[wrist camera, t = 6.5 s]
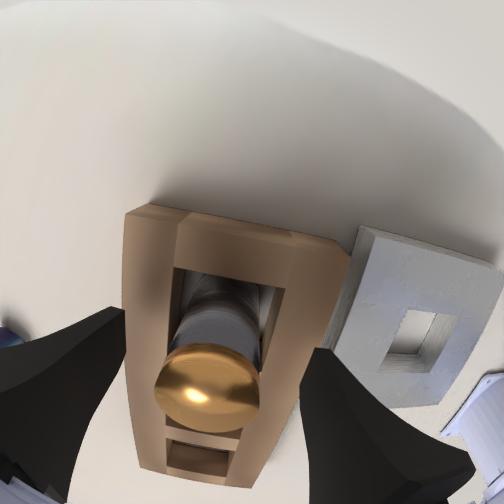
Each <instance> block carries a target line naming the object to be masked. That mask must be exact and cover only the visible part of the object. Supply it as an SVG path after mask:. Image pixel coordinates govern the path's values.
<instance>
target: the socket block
mask: <svg viewBox="0 0 504 504" xmlns="http://www.w3.org/2000/svg"><path fill="white" fill-rule="evenodd" d="M503 286H504V271H503V270H501V269H499V268H498V267H496V266H494V265H493V264H491V263H489V262H487V261H484V260H481V259H478V258H475V257H471V256H468V255H465V254H462V253H459V252H455V251H452V250H449V249H446V248H442V247H439V246H436V245H432V244H429V243H425V242H422V241H418V240H415V239H411V238H408V237H404V236H400V235H397V234H393V233H389V232H386V231H382V230H378V229H374V228H370V227H366V226H362V225H360V227H359V230H358V234H357V237H356V241H355V244H354V248H353V251H352V254H351V261H350V264H349V267H348V270H347V273H346V276H345V279H344V282H343V285H342V288H341V291H340V294H339V297H338V300H337V303H336V306H335V308H334V311H333V314H332V317H331V319H330V322H329V325H328V327H327V330H326V333H325V335H324V338H323V340H322V343H321V346H320V348H326V349H330V350H331V351H332V352H333V353H334V354H335V355H336V356H337V357H338V358H339V359H340V360H341V362H342V363H343V364H344V365H345V366H346V367H347V368H348V370H349V371H350V372H351V373H352V374H353V375H354V376H355V377H356V378H357V379H358V381H359V382H360V383H361V384H362V385H363V386H364V387H365V388H366V389H367V390H368V391H369V392H370V393H371V394H372V395H373V396H374V397H375V398H376V399H378V400H379V401H380V402H381V403H382V404H383V405H384V406H385V407H387V408H388V409H389V408H406V407H419V406H429V405H438V404H439V403H440V401H441V400H442V398H443V397H444V396H445V394H446V393H447V391H448V390H449V388H450V387H451V385H452V384H453V382H454V381H455V379H456V378H457V376H458V375H459V373H460V371H461V370H462V368H463V366H464V365H465V363H466V361H467V360H468V358H469V356H470V355H471V353H472V351H473V349H474V347H475V346H476V344H477V342H478V340H479V338H480V336H481V334H482V332H483V330H484V328H485V326H486V324H487V322H488V320H489V318H490V316H491V314H492V312H493V310H494V307H495V305H496V303H497V300H498V298H499V296H500V293H501V291H502V288H503ZM407 309H411V310H418V311H426V312H433V313H437V315H436V317H435V319H434V321H433V323H432V325H431V327H430V330H429V332H428V334H427V336H426V338H425V340H424V341H423V343H422V345H421V347H420V349H419V351H418V353H417V354H398V353H387V352H388V350H389V348H390V346H391V344H392V342H393V340H394V338H395V335H396V333H397V331H398V329H399V327H400V325H401V323H402V320H403V318H404V316H405V314H406V311H407Z"/></svg>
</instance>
